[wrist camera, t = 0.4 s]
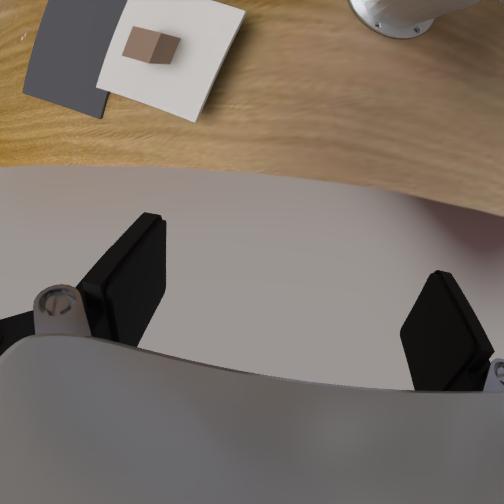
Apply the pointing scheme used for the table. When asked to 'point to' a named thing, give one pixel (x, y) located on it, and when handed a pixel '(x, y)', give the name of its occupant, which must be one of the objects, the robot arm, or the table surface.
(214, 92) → the table surface
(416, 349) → the robot arm
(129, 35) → the lid
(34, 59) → the mat
